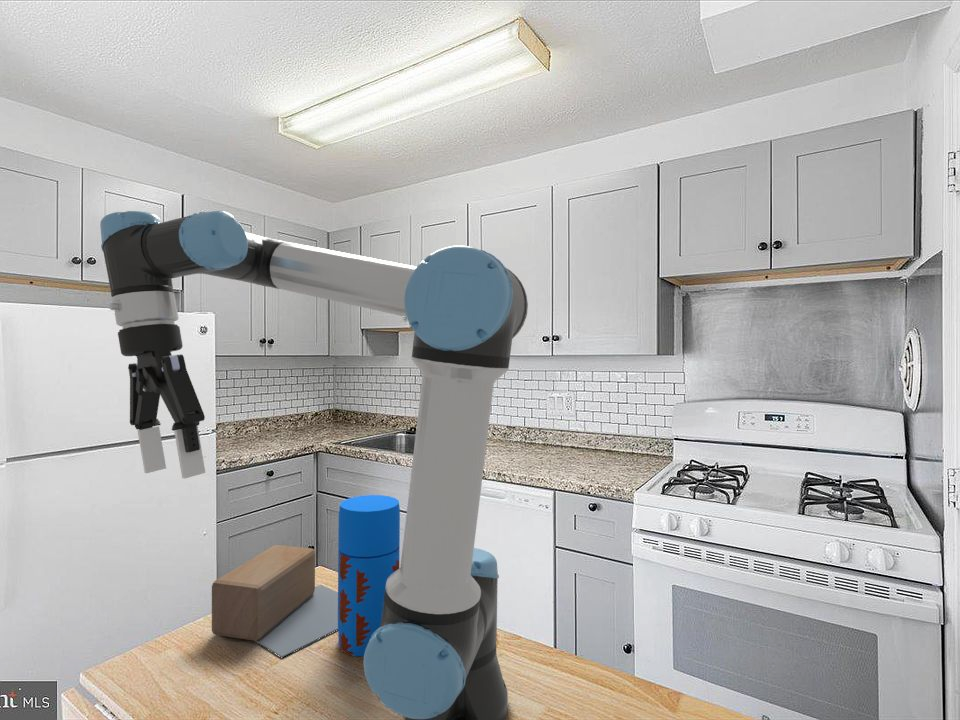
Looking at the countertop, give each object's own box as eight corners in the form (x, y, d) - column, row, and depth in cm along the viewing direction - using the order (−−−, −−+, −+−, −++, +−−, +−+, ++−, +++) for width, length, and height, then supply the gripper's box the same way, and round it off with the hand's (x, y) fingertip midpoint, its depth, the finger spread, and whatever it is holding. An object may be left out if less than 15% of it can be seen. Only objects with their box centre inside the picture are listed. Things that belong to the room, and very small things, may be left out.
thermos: (381, 619, 104) (382, 491, 104) (410, 643, 96) (411, 504, 96) (327, 637, 98) (328, 501, 97) (353, 664, 89) (355, 515, 89)
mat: (376, 611, 107) (376, 609, 107) (281, 658, 91) (281, 656, 91) (320, 586, 118) (320, 584, 118) (227, 624, 102) (227, 622, 102)
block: (258, 587, 94) (317, 547, 114) (209, 581, 96) (275, 542, 116) (258, 643, 94) (316, 593, 114) (209, 636, 97) (275, 588, 116)
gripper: (90, 337, 81) (114, 475, 81) (152, 315, 65) (181, 486, 66) (145, 333, 86) (167, 462, 87) (215, 311, 70) (241, 469, 71)
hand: (173, 473), depth 76 cm, fingers open, 13 cm apart
